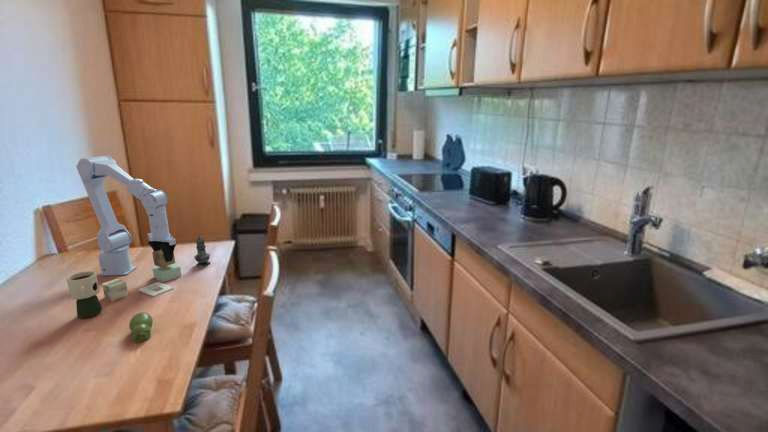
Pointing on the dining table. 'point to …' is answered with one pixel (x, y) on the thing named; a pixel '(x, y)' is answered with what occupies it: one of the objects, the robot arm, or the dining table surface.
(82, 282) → the character mug
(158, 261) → the walnut block
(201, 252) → the dark green chess piece
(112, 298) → the ash block
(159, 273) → the base block
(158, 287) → the card
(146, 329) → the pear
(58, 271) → the dining table surface
